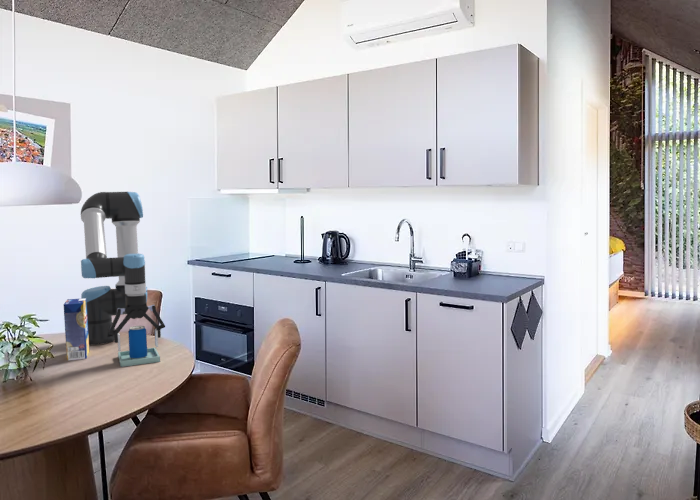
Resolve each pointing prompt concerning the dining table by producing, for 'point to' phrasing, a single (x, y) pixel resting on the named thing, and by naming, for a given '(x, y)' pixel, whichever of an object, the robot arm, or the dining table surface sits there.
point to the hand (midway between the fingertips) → (138, 348)
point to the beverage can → (137, 342)
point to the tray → (127, 361)
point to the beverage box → (76, 329)
